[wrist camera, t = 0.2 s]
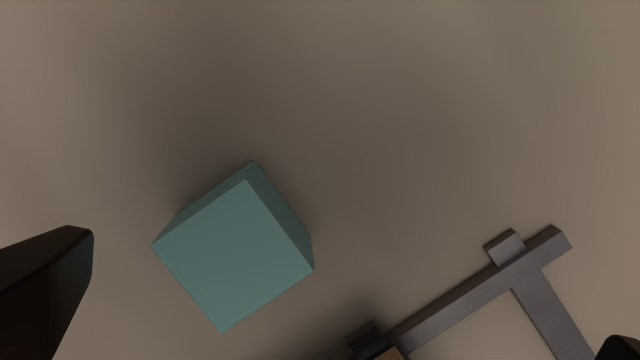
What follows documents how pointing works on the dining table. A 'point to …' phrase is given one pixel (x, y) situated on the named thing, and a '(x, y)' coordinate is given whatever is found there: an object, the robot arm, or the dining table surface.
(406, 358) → the cart
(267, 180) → the block
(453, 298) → the rail
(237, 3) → the dining table surface
